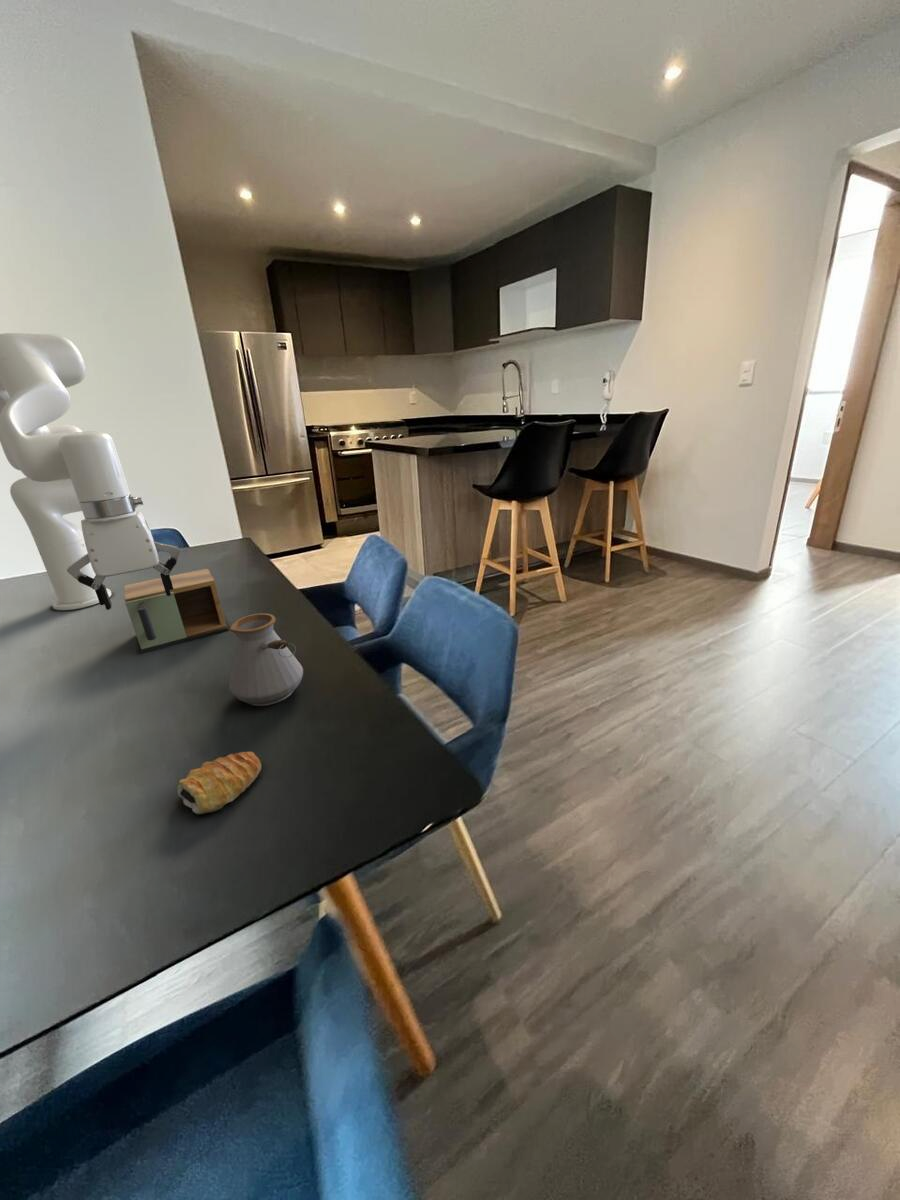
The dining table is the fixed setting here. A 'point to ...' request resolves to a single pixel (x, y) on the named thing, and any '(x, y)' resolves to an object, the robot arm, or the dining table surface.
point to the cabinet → (187, 603)
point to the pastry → (218, 781)
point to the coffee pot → (262, 663)
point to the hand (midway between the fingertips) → (139, 600)
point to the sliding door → (156, 620)
